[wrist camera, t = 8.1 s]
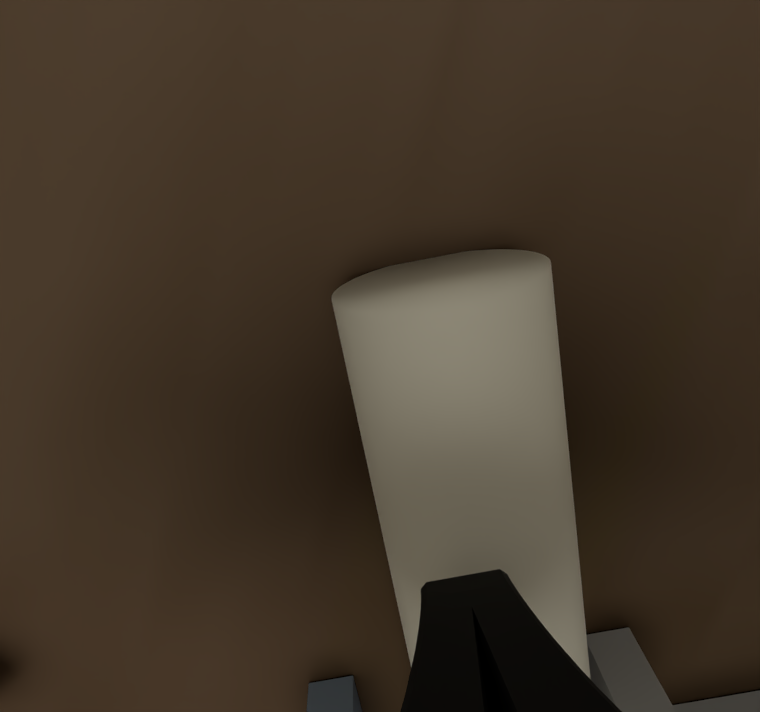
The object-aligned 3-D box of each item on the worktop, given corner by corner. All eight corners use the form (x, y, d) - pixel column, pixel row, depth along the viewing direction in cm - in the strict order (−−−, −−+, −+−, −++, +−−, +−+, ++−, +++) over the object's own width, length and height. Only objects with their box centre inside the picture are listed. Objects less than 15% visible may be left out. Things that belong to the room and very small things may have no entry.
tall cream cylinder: (306, 288, 13) (379, 329, 9) (477, 242, 14) (601, 262, 10) (406, 724, 17) (484, 872, 13) (532, 660, 18) (636, 778, 14)
